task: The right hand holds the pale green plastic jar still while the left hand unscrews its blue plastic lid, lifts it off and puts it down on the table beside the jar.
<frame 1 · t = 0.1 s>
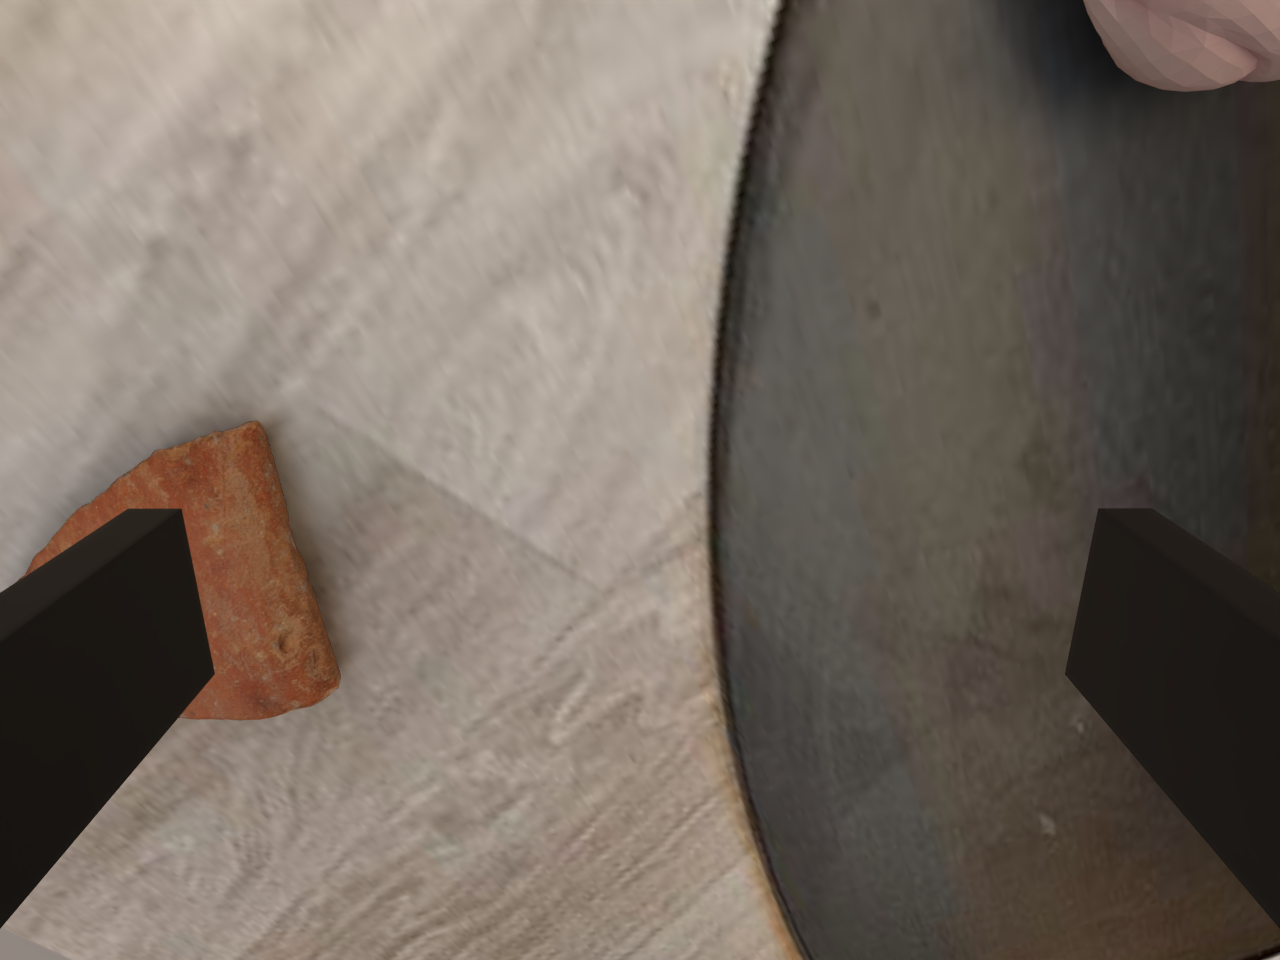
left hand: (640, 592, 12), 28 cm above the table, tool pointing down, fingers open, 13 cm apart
ceramic shard: (177, 566, 43), on the table
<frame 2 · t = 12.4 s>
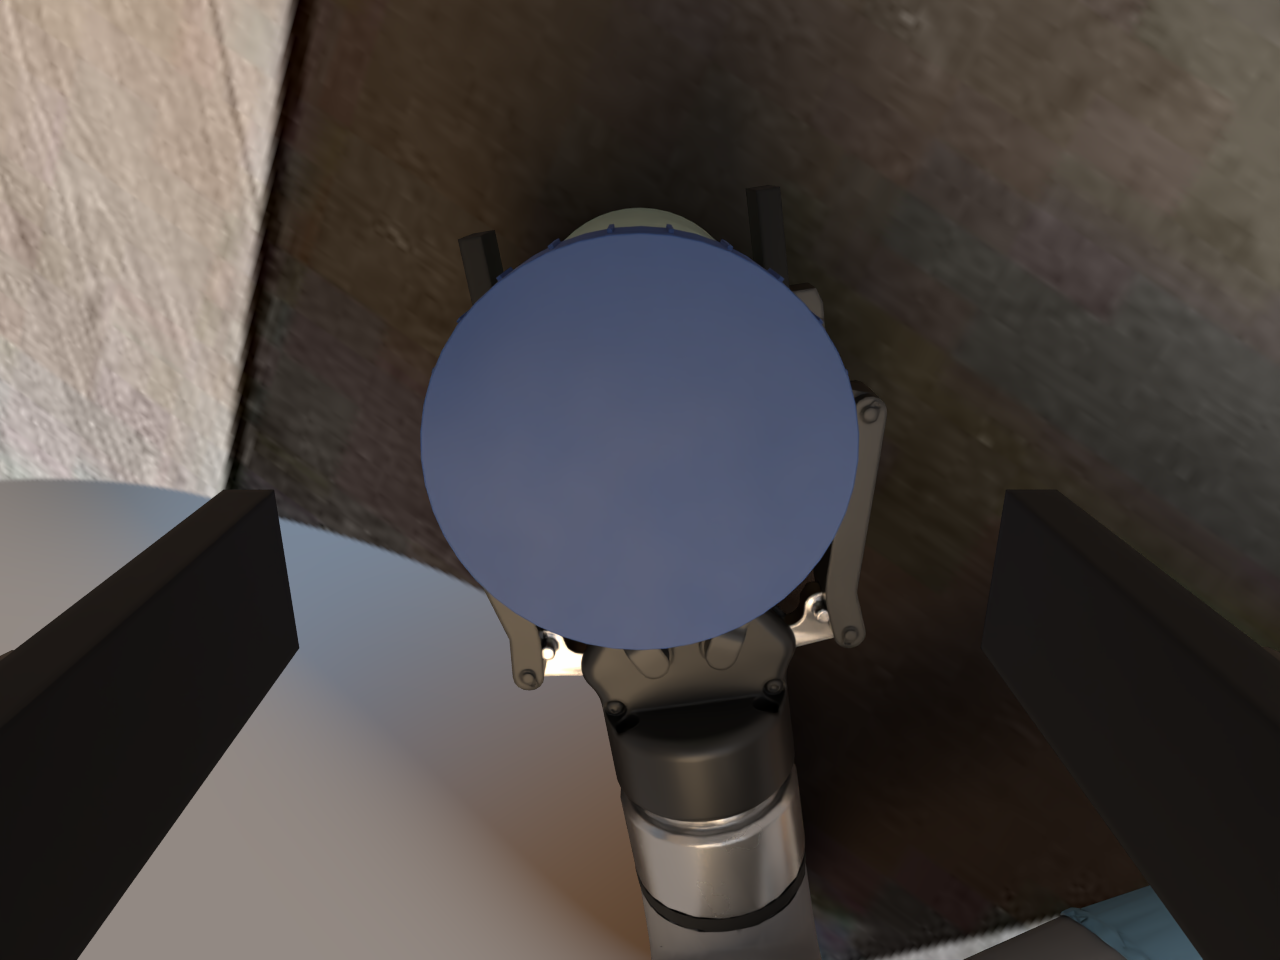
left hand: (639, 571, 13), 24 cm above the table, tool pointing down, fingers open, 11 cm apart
right hand: (618, 211, 28), fingers closed on jar, 9 cm apart
jar: (639, 317, 36), on the table, touching right hand
lid: (639, 455, 18), point 18 cm above the table, screwed on, not yet turned
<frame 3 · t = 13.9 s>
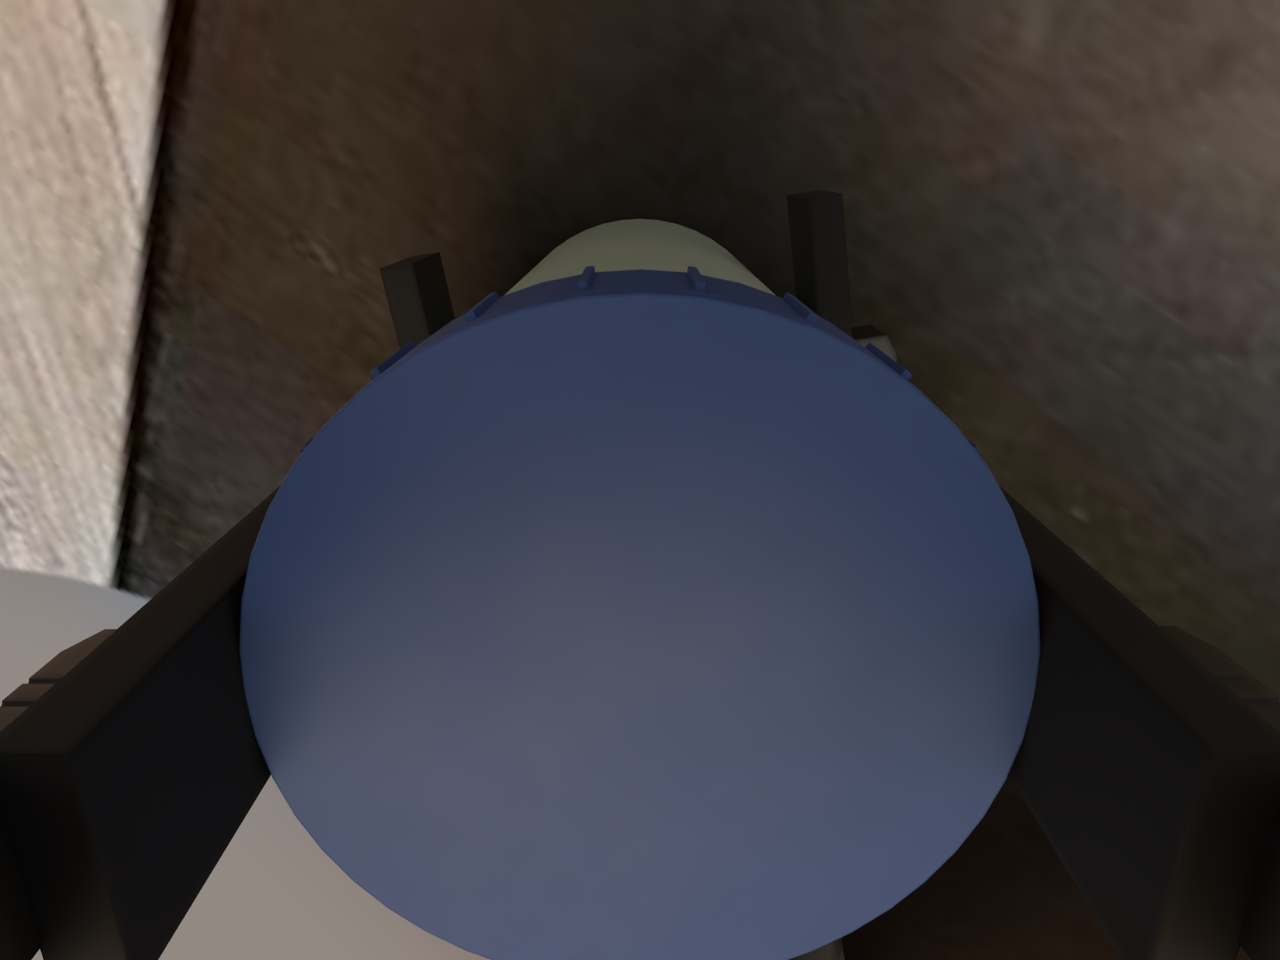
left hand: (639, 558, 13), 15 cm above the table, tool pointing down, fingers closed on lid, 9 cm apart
jar: (639, 359, 28), on the table, touching right hand
lid: (639, 678, 10), point 18 cm above the table, screwed on, not yet turned, touching left hand
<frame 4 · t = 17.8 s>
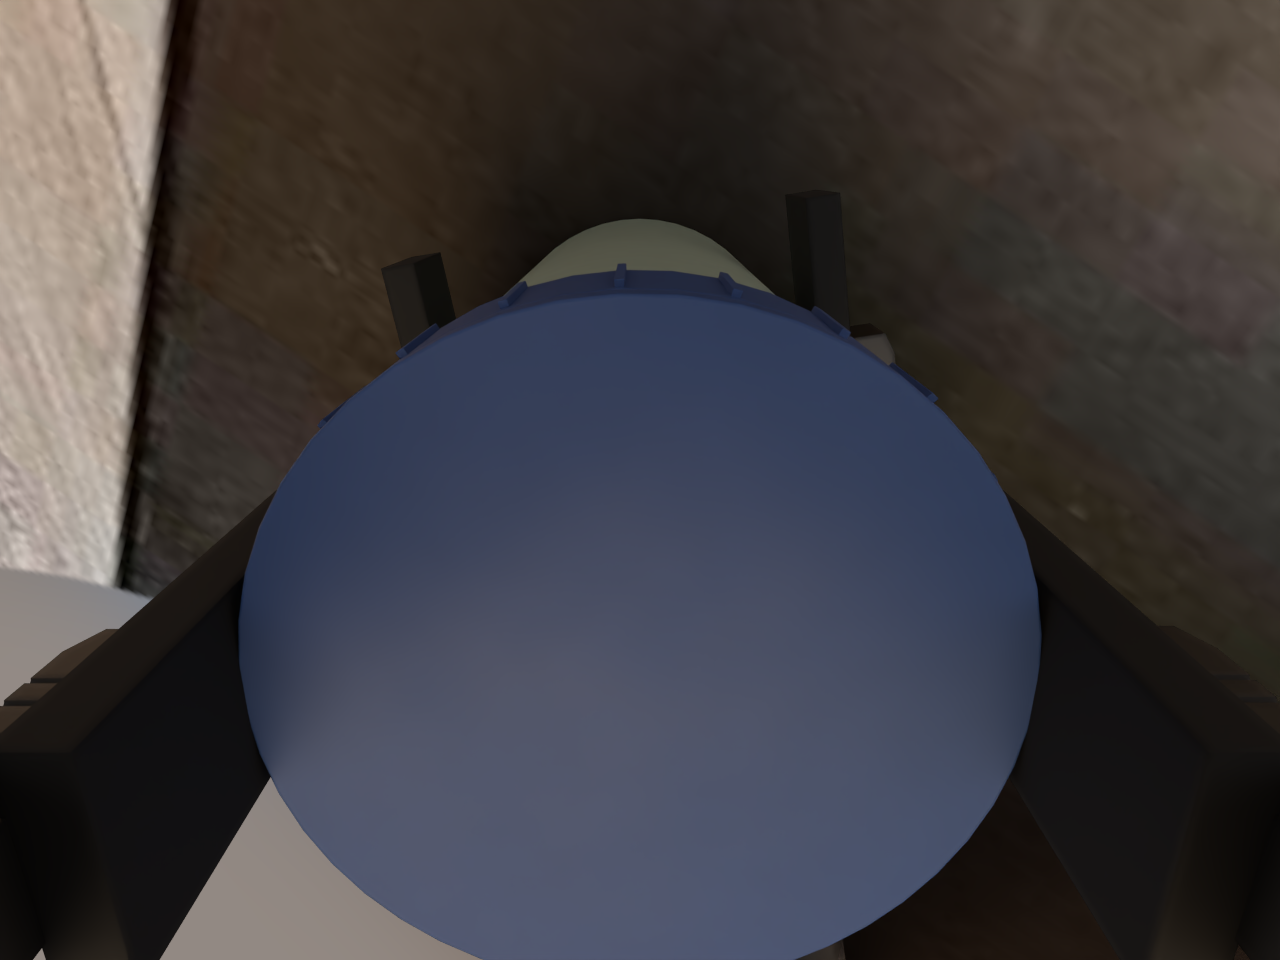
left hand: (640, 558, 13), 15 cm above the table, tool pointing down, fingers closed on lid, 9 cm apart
jar: (639, 358, 28), on the table, touching right hand
lid: (639, 680, 10), point 19 cm above the table, turned 130° so far, risen 0.2 cm, still on its thread, touching left hand
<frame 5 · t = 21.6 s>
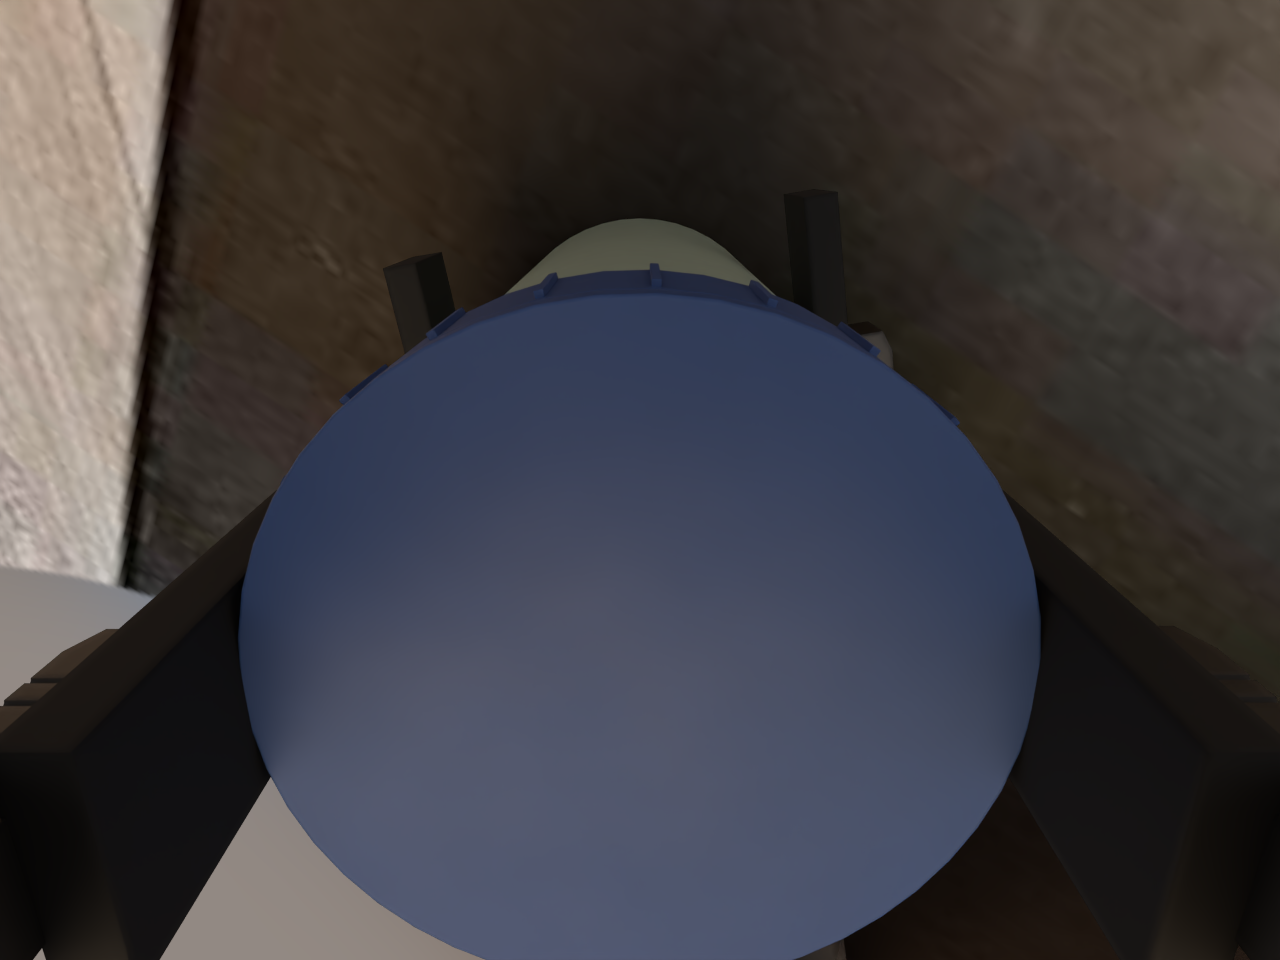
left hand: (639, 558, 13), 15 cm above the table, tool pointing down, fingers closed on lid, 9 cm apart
jar: (639, 357, 28), on the table, touching right hand
lid: (639, 679, 10), point 19 cm above the table, turned 260° so far, risen 0.3 cm, still on its thread, touching left hand
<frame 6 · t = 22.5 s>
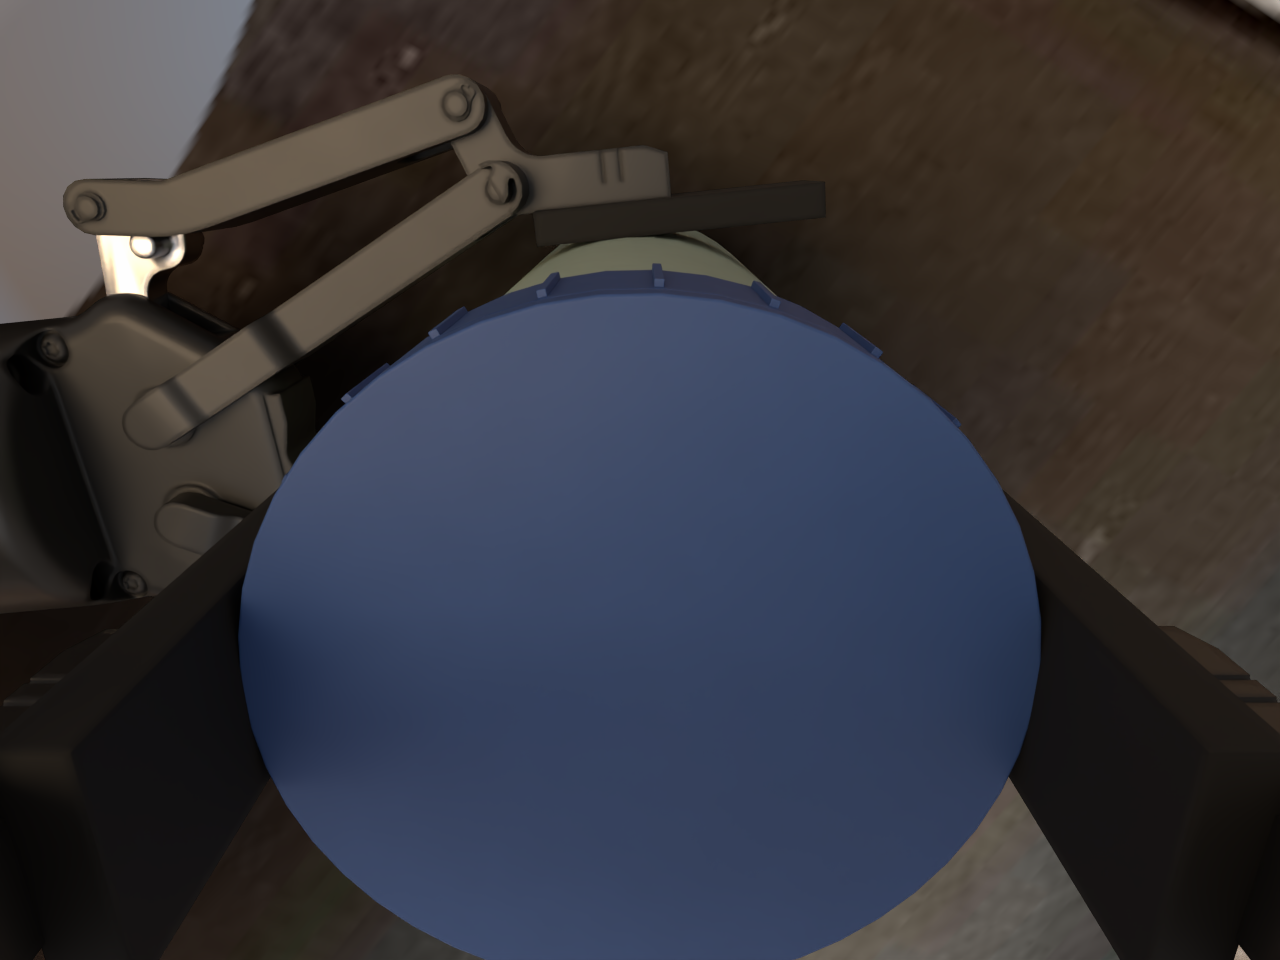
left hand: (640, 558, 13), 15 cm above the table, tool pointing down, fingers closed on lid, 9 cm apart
right hand: (818, 393, 22), fingers closed on jar, 9 cm apart
jar: (640, 357, 28), on the table, touching right hand
lid: (639, 679, 10), point 19 cm above the table, off its thread, touching left hand
when the left hand's fingers open (0 cm above the table, at t = 28.7 s): lid drops 2 cm, point 2 cm above the table.
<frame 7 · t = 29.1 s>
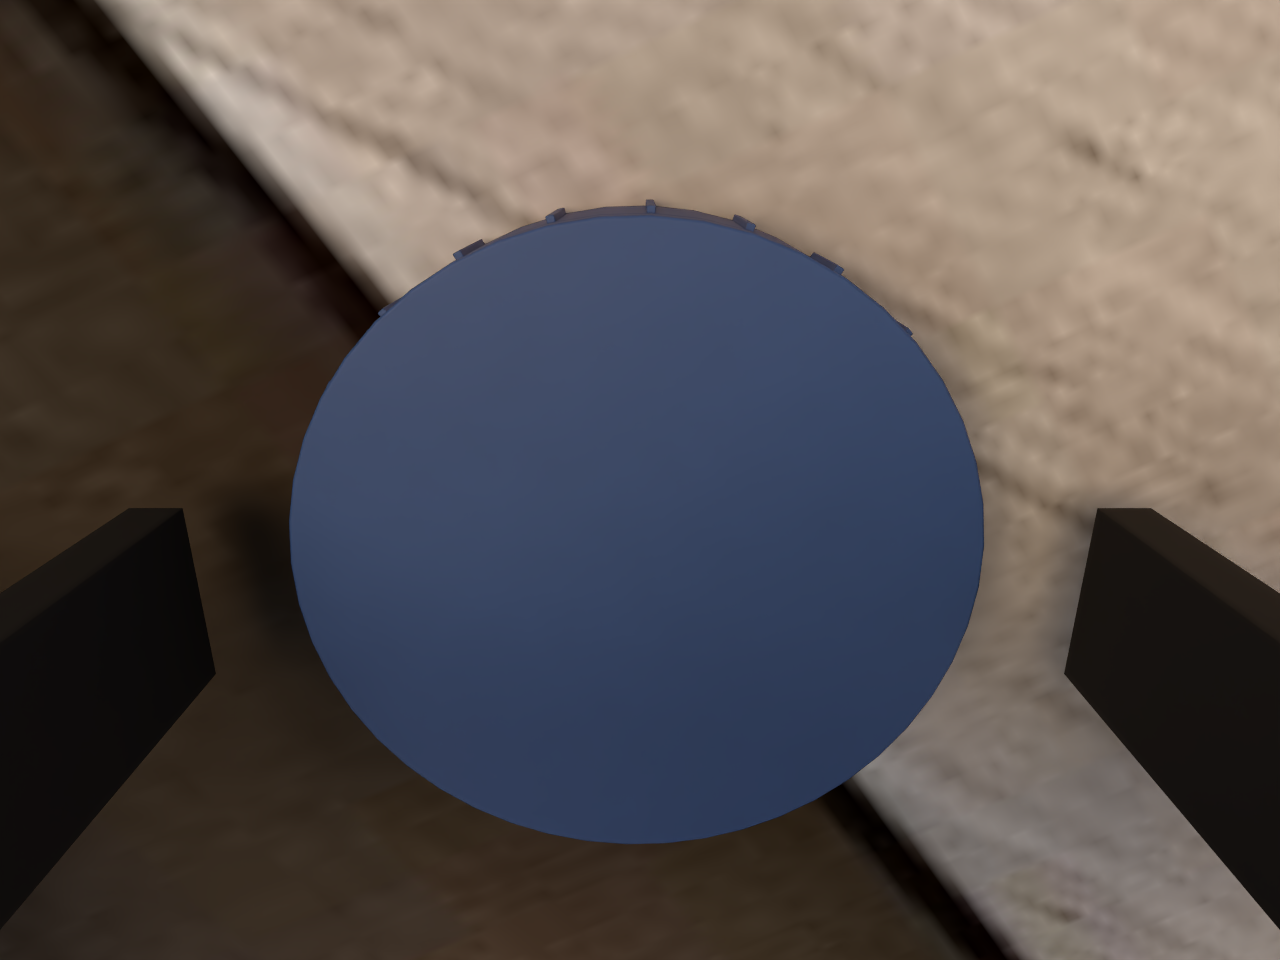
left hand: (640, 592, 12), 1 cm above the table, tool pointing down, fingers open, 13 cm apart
lid: (636, 564, 12), point 2 cm above the table, off its thread
when the right hand's fingers open (7 cm above the table, at t = 29.6 s): jar stays where it is, on the table.
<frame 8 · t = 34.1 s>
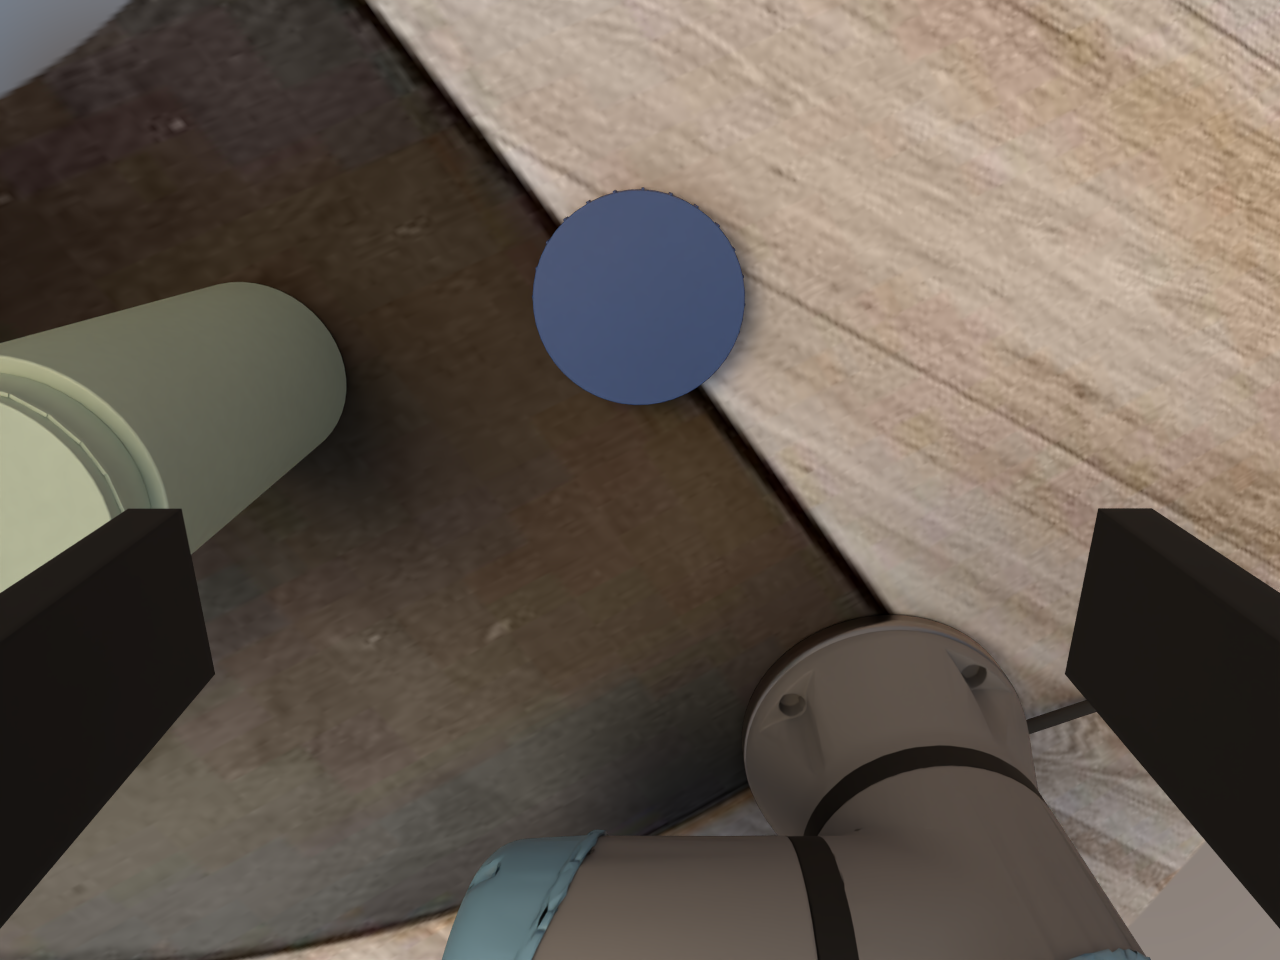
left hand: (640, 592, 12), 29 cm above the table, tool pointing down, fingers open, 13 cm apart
jar: (254, 375, 41), on the table
lid: (638, 301, 38), point 2 cm above the table, off its thread
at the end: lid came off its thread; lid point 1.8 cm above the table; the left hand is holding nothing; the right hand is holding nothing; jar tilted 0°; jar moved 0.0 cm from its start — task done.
